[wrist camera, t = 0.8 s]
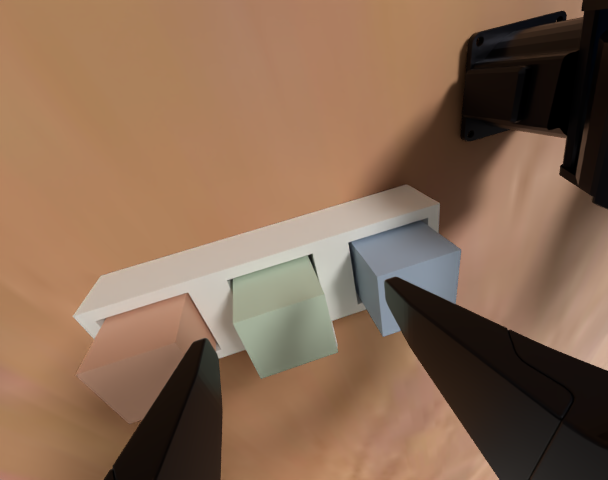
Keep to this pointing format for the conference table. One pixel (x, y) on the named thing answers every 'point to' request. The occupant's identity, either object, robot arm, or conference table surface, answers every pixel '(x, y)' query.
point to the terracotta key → (141, 353)
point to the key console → (259, 263)
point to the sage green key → (282, 316)
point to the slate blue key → (403, 267)
